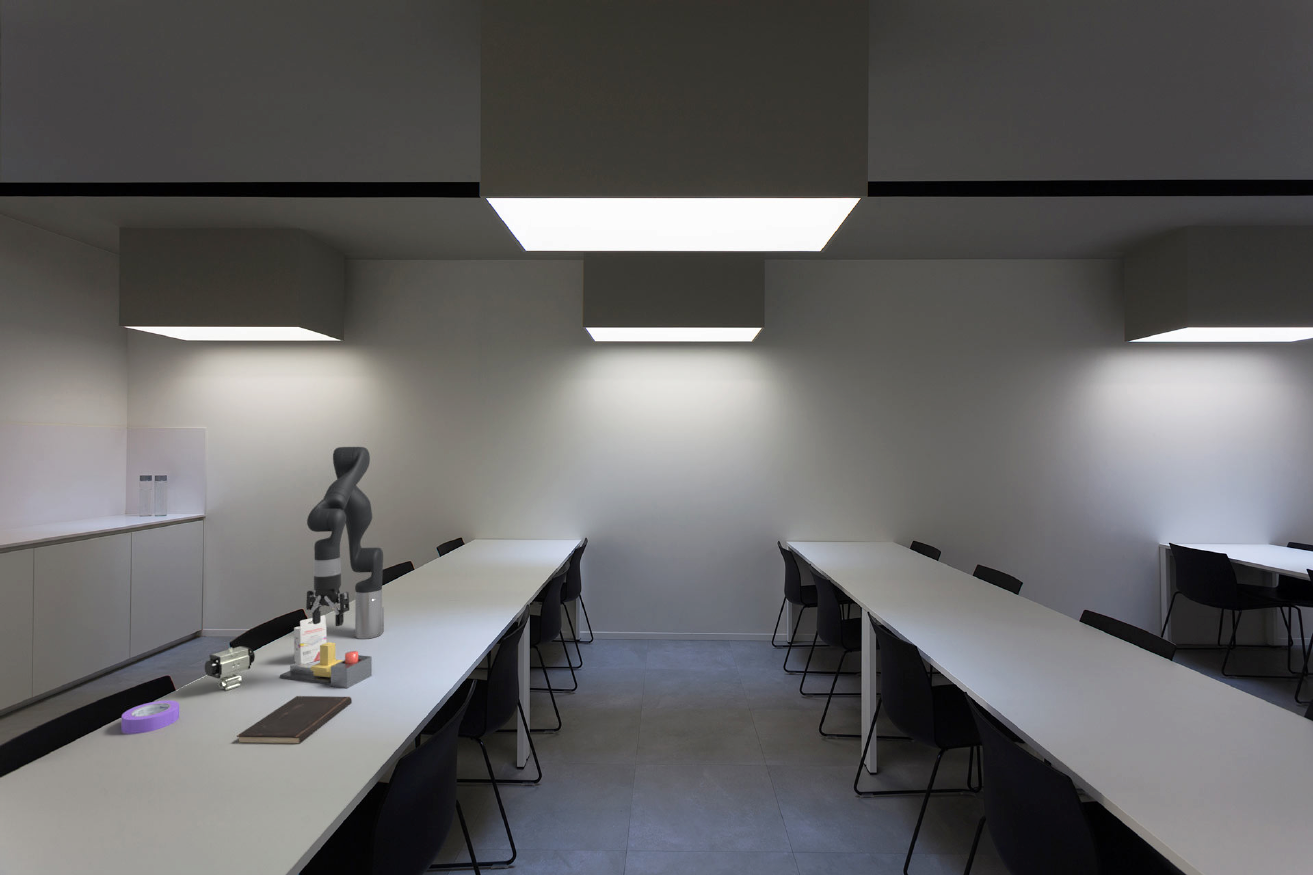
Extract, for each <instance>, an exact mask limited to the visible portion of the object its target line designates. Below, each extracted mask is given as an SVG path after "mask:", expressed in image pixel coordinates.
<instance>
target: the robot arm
mask: <svg viewBox="0 0 1313 875" xmlns="http://www.w3.org/2000/svg"><path fill="white" fill-rule="evenodd" d="M370 461H371V456H370V451H369V450H368V448H366V447H364V446H339V447H336V448H335V449H334V450H333V454H332V462H333V463H332V464H333V467H334V471H335V476H336V480H334V481H333V482H332V483H331V484H330V485H329V487H328V488H327V490H326V492H325V494H324V496H323V499H321V500H320V501H319V502H318V503H317V504H316V505H315V506H314V507H313V508H312V509H311V511H310V512H309V513H308V516H307V520H306V525H307V527H308V529H309V530H310V531H311V532H314V533H319V532H320V533H321V532H322V533H324V532H325V533H326V532H331V534H330V536H329V537H327V538H322V539H319V540H316V541H315V543H314V546H313V548H314V561H313V562H314V563H313V589H310V590H307V592H306V603H305V604H306V605H305V607H306V608H305V609H306V610H307V611H310V612H311V615H312V616H311V618H313V619H312V621H311V622H312V623H313V624H318V623H320V622H321V616H322V614H321V613H322V612H321V609H322V607H324V606H326V607H330V609H331V610H333V611H334V613H335V615H334V616H335V617H334V619H335V622H334V624H335V625H334V626H335V627H340V626H342V625H343V624H344V617H345V616H344V615H345V614H344V613H346V612H348V611H350V596H349V594H350V593H349V591H345V592H341V591H340V587H341V586H342V561H341V542H342V535H343V533H344V529H345V528H346V532H347V538H348V539H347V540H348V549H349V550H348V551H349V552H348V553H349V563H350V568H351V571H353V573H358V574H359V573H361V574H363V573H371V574H370V576H369V577H368V578H366V579H363V580H361V581H357V583H356V584H355V586H354V591H355V595H354V598H355V602H354V603H355V604H354V605H355V610H354V611H355V619H354V621H355V625H354V626H355V628H354V629H355V630H354V633H355V636H354V637H355V638H356V639H360V640H361V639H363V640H364V639H365V640H366V639H372V638H373V639H374V638H377V637H379V636H381V635H383V634H384V632H385V608H384V607H383V569H384V552H383V549H382V548H381V547H362V546H361V541H362V538H363V536H364V534H365V533H366V531H367V530H368V528H369V526H370V525H371V523H372V520H373V512H372V511H373V510H372V504H371V501H370V499H369V498H368V496H367V495H366V494H365V493H364V491H362V490H361V489H360V488H359V487H358V486H357V485H358V483H359V482H360V481H361V479H362V478H363V476H364V475H365V473H366V472H367V471H368V469H369V466H370Z"/></svg>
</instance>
